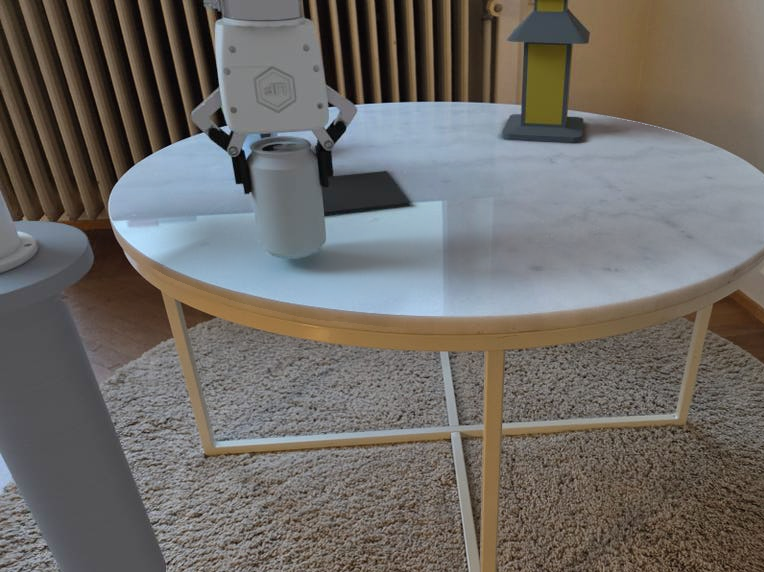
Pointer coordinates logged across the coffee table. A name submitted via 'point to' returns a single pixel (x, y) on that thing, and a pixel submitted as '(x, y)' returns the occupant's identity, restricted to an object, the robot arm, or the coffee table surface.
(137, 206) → the coffee table surface
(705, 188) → the coffee table surface
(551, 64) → the lantern
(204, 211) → the coffee table surface
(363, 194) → the mat
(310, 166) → the can
